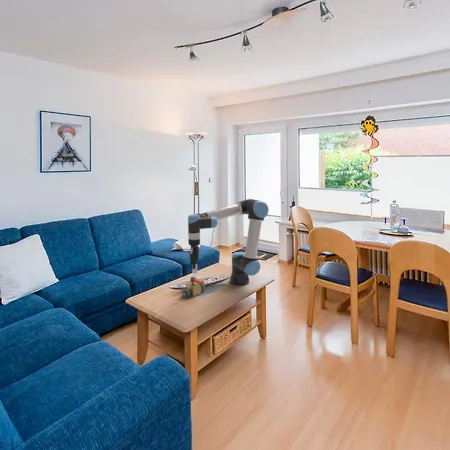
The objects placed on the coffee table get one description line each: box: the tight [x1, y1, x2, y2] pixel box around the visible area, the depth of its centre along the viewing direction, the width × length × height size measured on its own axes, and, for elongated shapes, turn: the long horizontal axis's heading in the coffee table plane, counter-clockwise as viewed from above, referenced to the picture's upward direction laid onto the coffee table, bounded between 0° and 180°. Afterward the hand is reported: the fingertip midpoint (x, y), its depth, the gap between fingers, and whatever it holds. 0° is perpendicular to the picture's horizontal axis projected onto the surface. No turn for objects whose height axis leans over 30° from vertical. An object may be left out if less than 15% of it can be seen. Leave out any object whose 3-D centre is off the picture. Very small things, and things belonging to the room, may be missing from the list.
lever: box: [189, 276, 205, 285], centre depth 218 cm, size 12×4×2 cm, turn 45°
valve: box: [181, 281, 206, 299], centre depth 222 cm, size 18×7×10 cm, turn 134°
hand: (194, 273), depth 210 cm, fingers closed
